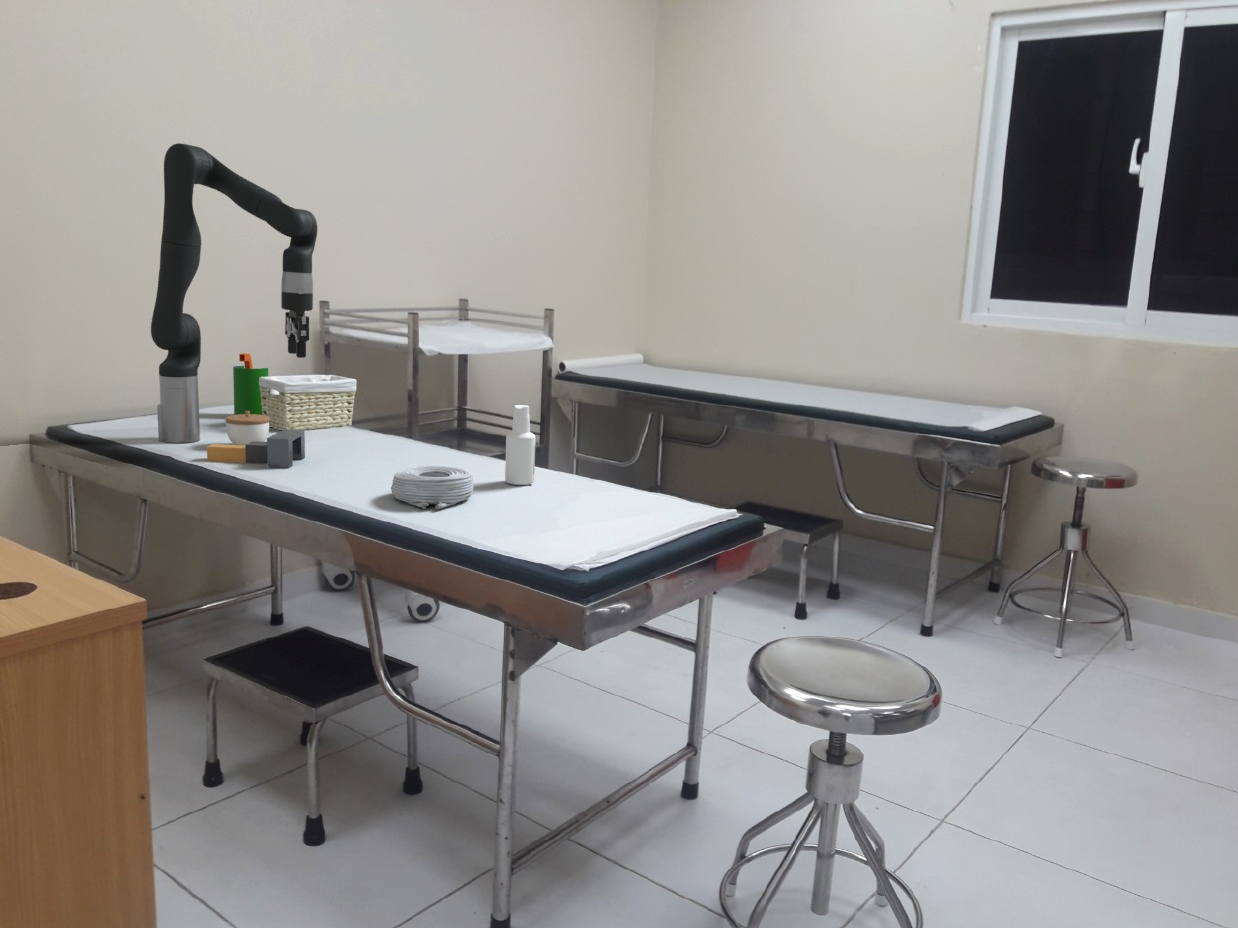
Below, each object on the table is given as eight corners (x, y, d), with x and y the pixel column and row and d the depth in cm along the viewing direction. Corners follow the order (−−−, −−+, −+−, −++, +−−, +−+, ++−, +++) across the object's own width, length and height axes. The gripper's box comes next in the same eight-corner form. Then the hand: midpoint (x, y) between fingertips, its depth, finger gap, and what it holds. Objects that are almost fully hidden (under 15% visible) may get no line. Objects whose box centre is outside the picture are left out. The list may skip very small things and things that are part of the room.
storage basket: (331, 420, 305) (330, 372, 302) (359, 428, 294) (359, 378, 291) (257, 426, 288) (255, 376, 285) (284, 435, 277) (283, 382, 274)
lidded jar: (251, 452, 251) (250, 415, 249) (217, 447, 254) (215, 411, 252) (278, 445, 261) (278, 410, 259) (245, 441, 264) (244, 406, 262)
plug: (206, 461, 237) (205, 443, 236) (214, 457, 242) (213, 439, 241) (266, 464, 238) (266, 445, 237) (273, 460, 242) (273, 442, 242)
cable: (434, 512, 201) (434, 483, 199) (372, 498, 210) (372, 470, 208) (489, 497, 215) (490, 470, 214) (429, 485, 224) (429, 459, 223)
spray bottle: (538, 481, 233) (541, 405, 230) (526, 486, 227) (529, 409, 223) (512, 477, 235) (514, 403, 232) (499, 483, 229) (501, 406, 225)
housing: (267, 467, 234) (266, 438, 232) (284, 456, 246) (284, 429, 245) (288, 468, 234) (288, 439, 232) (304, 457, 247) (304, 430, 245)
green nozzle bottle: (273, 417, 304) (272, 352, 300) (260, 422, 295) (259, 355, 291) (242, 415, 304) (240, 351, 301) (228, 420, 296) (226, 353, 292)
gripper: (275, 288, 251) (274, 352, 254) (288, 292, 239) (288, 358, 242) (305, 289, 255) (304, 352, 258) (320, 293, 243) (319, 359, 246)
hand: (296, 355), depth 250 cm, fingers open, 8 cm apart
